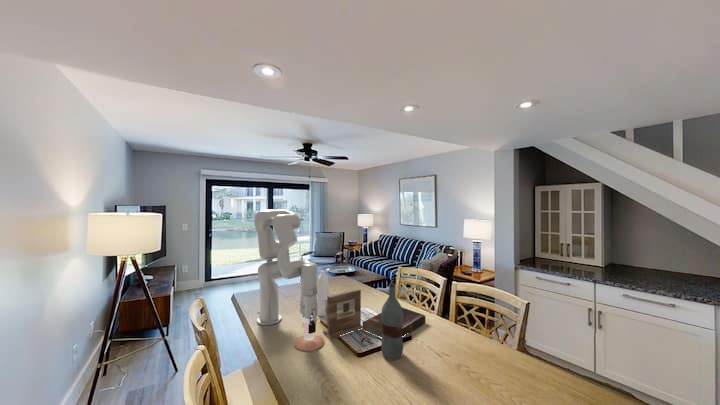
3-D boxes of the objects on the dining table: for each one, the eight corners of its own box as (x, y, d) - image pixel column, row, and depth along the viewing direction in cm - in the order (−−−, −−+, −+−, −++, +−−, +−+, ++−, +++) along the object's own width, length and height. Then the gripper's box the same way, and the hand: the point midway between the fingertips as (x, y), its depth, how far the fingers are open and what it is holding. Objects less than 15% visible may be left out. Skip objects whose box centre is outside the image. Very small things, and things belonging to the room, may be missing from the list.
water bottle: (323, 317, 152) (323, 272, 152) (314, 314, 156) (314, 270, 156) (333, 312, 159) (333, 269, 159) (325, 309, 163) (325, 267, 163)
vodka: (387, 363, 110) (387, 288, 110) (377, 351, 118) (377, 282, 118) (407, 357, 114) (407, 285, 113) (396, 346, 122) (396, 279, 122)
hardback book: (393, 345, 124) (393, 334, 124) (362, 331, 137) (362, 321, 137) (425, 324, 145) (425, 314, 145) (396, 314, 158) (396, 305, 158)
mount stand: (321, 331, 136) (321, 292, 136) (352, 322, 146) (352, 285, 146) (330, 339, 128) (330, 298, 128) (362, 329, 139) (362, 290, 138)
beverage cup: (310, 333, 130) (310, 303, 129) (318, 337, 126) (318, 307, 125) (299, 338, 125) (299, 307, 125) (308, 342, 121) (308, 311, 121)
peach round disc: (288, 345, 124) (288, 343, 124) (309, 333, 134) (309, 332, 134) (309, 354, 116) (309, 352, 116) (329, 341, 127) (329, 340, 127)
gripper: (294, 286, 130) (294, 324, 130) (308, 298, 116) (308, 340, 116) (309, 284, 134) (309, 320, 135) (324, 294, 120) (324, 335, 120)
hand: (309, 329), depth 125 cm, fingers closed on beverage cup, 6 cm apart
